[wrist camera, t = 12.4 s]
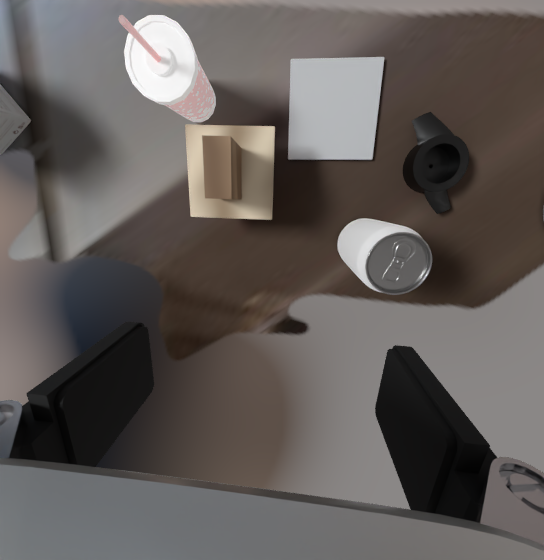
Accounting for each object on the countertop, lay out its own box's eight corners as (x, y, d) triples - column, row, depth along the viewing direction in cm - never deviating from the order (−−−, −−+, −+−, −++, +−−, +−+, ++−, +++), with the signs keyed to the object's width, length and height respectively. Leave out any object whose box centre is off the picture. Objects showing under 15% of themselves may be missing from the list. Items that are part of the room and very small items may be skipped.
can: (395, 226, 33) (452, 239, 21) (374, 272, 35) (417, 307, 23) (347, 211, 33) (378, 217, 21) (329, 258, 34) (349, 287, 23)
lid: (275, 128, 26) (271, 108, 20) (272, 219, 29) (267, 223, 23) (188, 126, 26) (161, 107, 21) (193, 216, 29) (170, 219, 23)
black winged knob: (382, 203, 32) (390, 203, 29) (410, 113, 29) (423, 104, 26) (441, 215, 32) (456, 217, 29) (476, 127, 29) (496, 119, 26)
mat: (383, 59, 28) (384, 57, 27) (371, 159, 31) (372, 159, 30) (290, 60, 28) (290, 59, 28) (287, 159, 31) (288, 159, 31)
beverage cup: (227, 124, 30) (178, 64, 17) (178, 134, 31) (95, 84, 18) (216, 63, 29) (152, -56, 15) (165, 75, 29) (61, -29, 16)
